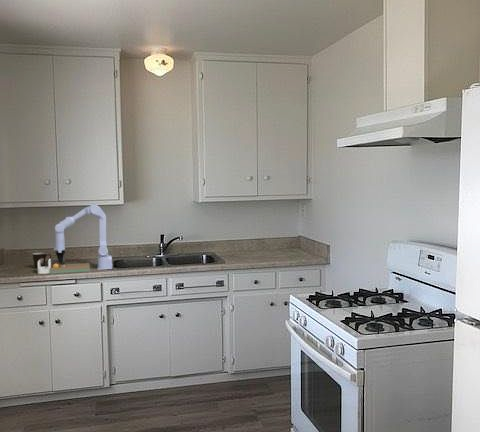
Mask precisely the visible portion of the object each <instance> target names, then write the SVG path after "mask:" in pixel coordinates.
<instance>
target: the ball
mask: <svg viewBox="0 0 480 432" xmlns="http://www.w3.org/2000/svg"><path fill="white" fill-rule="evenodd" d="M52 265H53V268H57V267H59V265H60V263H57V262H56V263H54V264H52Z"/></svg>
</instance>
